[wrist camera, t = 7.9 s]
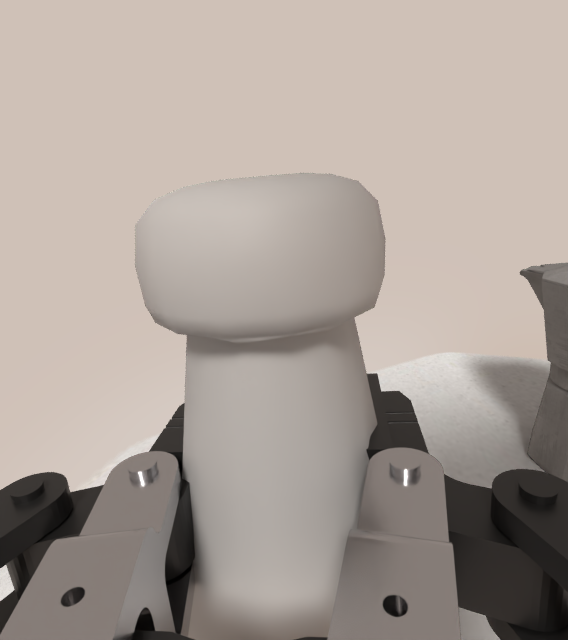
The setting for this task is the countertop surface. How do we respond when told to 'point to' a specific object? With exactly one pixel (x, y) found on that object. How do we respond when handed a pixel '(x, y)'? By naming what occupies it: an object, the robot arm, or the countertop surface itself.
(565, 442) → the coffeepot
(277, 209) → the salt shaker
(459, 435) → the countertop surface
